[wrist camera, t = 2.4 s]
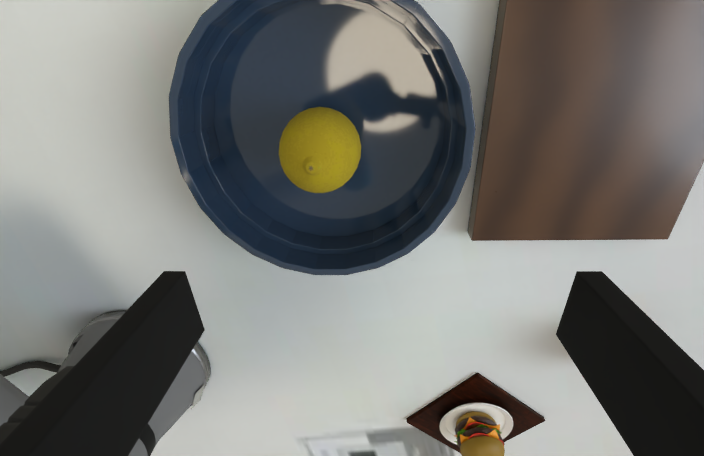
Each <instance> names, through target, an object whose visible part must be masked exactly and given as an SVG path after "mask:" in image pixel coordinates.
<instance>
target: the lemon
mask: <svg viewBox="0 0 704 456" xmlns="http://www.w3.org/2000/svg"><path fill="white" fill-rule="evenodd" d="M279 158H280V163H281V166H282V169H283V171H284V173H285V174H286V176H287V177H288V178H289V180H290V181H291V182H292V183H294V184H295V185H296V186H297V187H299V188H301V189H303V190H305V191H308V192H312V193H326V192H330V191H334V190H336V189H337V188H339V187H341V186H343V185H344V184H345V183H346V182H347V181H348V180H349V179H350V178H351V177H352V176H353V174H354V172H355V171H356V169H357V167H358V164H359V161H360V158H361V143H360V138H359V134H358V132H357V130H356V128H355V126H354V125H353V123H352V122H351V121H350V120H349V119H348V118H347V117H346V116H345V115H343V114H342V113H341V112H339V111H336V110H334V109H331V108H326V107H315V108H309V109H307V110H304V111H302V112H300V113H298V114H297V115H296V116H295V117H294V118H292V119H291V120H290V121H289V123H288V124H287V126H286V127H285V129H284V130H283V133H282V136H281V139H280V142H279Z"/></svg>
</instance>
